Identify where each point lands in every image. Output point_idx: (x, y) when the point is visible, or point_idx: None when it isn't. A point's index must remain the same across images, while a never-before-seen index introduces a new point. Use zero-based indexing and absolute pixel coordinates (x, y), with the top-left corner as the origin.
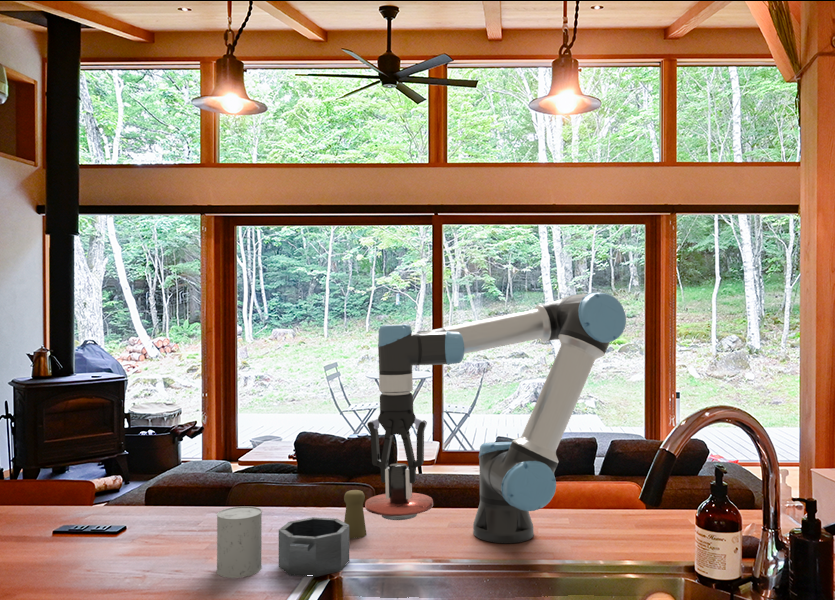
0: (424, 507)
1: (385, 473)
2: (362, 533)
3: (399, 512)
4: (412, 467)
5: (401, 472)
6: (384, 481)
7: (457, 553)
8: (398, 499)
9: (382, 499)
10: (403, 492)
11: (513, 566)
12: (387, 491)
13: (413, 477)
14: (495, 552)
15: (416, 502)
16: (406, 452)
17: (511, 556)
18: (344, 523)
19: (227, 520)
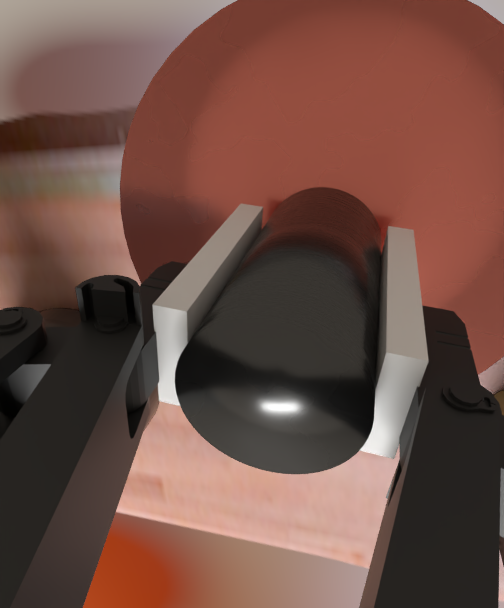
0: (140, 101)
1: (420, 332)
2: (499, 402)
3: None
4: (95, 300)
5: (235, 293)
6: (428, 310)
7: None
8: (315, 194)
9: (436, 294)
10: (270, 223)
11: (5, 138)
12: (399, 248)
13: (153, 282)
14: (76, 249)
15: (209, 212)
16: (60, 464)
17: (31, 218)
18: None
19: None
